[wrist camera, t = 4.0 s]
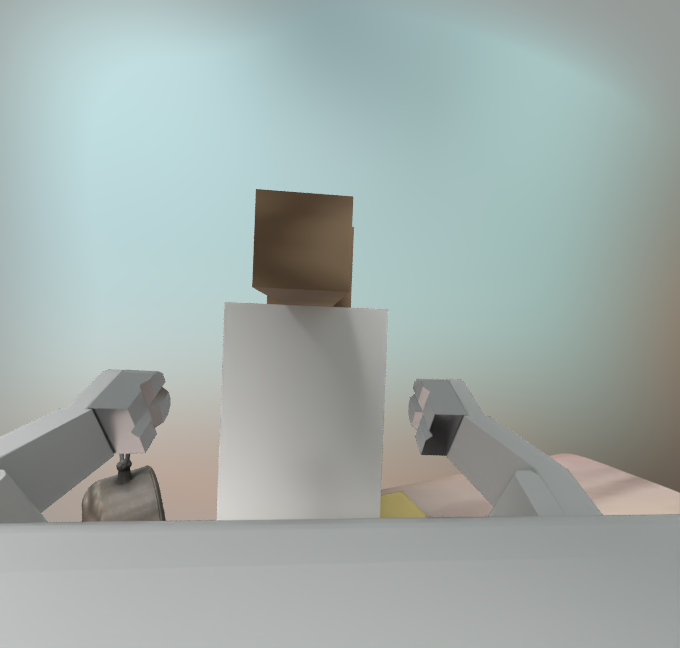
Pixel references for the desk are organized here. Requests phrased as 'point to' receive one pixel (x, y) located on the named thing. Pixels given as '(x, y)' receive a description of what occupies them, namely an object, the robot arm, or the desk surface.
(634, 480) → the desk surface
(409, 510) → the mustard block
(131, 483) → the alarm clock
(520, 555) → the robot arm
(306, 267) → the brown block
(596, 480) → the desk surface
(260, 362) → the white block
